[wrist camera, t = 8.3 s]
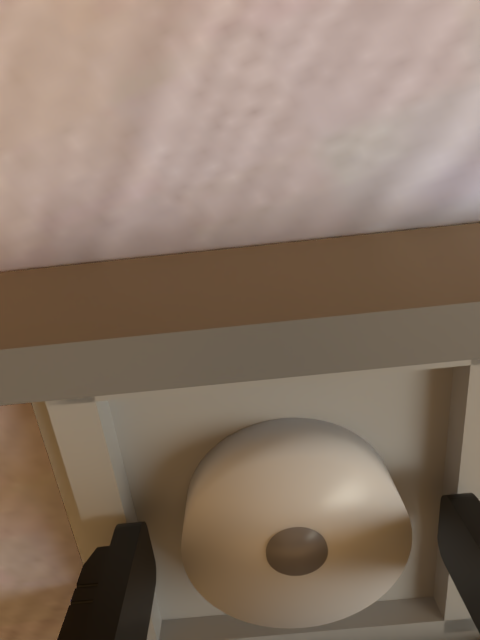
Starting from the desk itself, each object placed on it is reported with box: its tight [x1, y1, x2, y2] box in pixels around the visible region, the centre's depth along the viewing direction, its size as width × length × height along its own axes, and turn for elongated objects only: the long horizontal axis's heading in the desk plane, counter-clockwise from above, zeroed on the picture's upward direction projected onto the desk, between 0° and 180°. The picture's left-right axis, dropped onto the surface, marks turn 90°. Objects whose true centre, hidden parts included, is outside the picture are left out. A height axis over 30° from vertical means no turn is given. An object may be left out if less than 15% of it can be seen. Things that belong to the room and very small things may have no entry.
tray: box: [0, 223, 480, 640], centre depth 13 cm, size 18×16×6 cm
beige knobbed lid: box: [181, 418, 412, 629], centre depth 12 cm, size 6×6×2 cm
